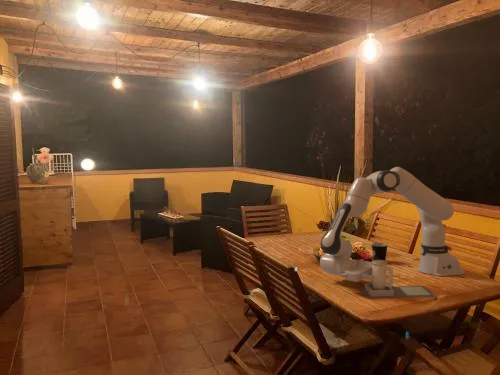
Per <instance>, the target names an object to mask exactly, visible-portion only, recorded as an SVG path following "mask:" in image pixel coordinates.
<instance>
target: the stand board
mask: <svg viewBox="0 0 500 375" xmlns="http://www.w3.org/2000/svg"><path fill="white" fill-rule="evenodd" d="M359 289H360V290H361V291H362V293H363V294H364V295H365V297H366V298H367V299H404V298H405V299H410V298H419V299H420V298H433V299H432V300H433V301H435V300H438V296H436V294H434V292H432V291H431V290H429V289H428V288H427V287H426V286H425V285H415V286H413V285H411V286H410V285H407V286H401V285H400V286H393V287H387V286H386V290H372V282H371V283H369V282H367V283H364V286H359Z"/></svg>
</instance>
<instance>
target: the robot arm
mask: <svg viewBox="0 0 500 375" xmlns="http://www.w3.org/2000/svg"><path fill="white" fill-rule="evenodd" d="M393 190H395V191H396V192H397V193H399V195H401V196H402V197H403V198H405V199H406V200H408V202H410V204H412V205H414V206H416V209H417V211H418V215H419V219H420V224H421V243H420V260H419V264H418V267H417V270H418V271H419V272H420V273H423V274H427V275H434V276H437V277H447V276H456V275H458V276H459V275H465V274H466V270H464V269H463V268H462V267H461V263H460V260H459V259H458V258H457V257H456V256H454V255H453V254H452V253H450V252H452V250H453V248H452V247H451V246H450V245H446V229H445V227H444V225H443V221H448V220H450V219H451V218H452V217H453V215H454V213H455V207H454V206H453V204H452V203H451V202H450V201H448V200H447V199H445V198H444V197H442V196H441V195H440V194H438V193H437V192H436V191H433V190H432V189H431V188H429V187H428V186H427V185H425V183H423V182H421V181H420V180H419V179H418V178H417V177H415V176H414V175H413V174H412V173H410V172H409V171H407V170H406V169H404V168H402V167H400V166H395V167H393V168H391V169H390V170H389V169H387V170H386V169H385V170H379V171H375V172H373V173H369V174H367V175H366V176H365V177H357V178H355V179H354V181H353V182H352V184H351V186H350V188H349V189H348V192H347V194H346V197H345V200H344V202H343V203H342V204H341V205H340V206H339V207H338V209H337V210H336V213H335V215H334V217H333V218H332V219H333V220H332V221H331V224H330V225H329V227H328V229H327V230H326V232H325V233H324V234H323V236H322V237H321V239H320V247H321V249H322V250H323V252H325V253H326V254H325V255H323V256H322V257H320V259H319V266H320V268H321V270H322V271H323V272H325V273H327V274H329V275H334V276H341V277H342V278H344V279H346V280H347V281H351V282H354V283H355V282H356V283H358V282H361V280H370V281H371V280H372V279H373V275H372V261H367V260H364V259H362V258H357V259H351V256H352V253H353V245H352V243H351V242H350V241H348V240H347V239H345V238H343V237H342V233H343V231H344V228H345V226H346V223H347V222H348V220H349V219H350V218H354V217H355V218H356V217H357V218H358V217H360V216H362V215H364V214H365V212H366V211H367V208H368V206H369V202H370V200H371V197H372V195H374V194H376V195H377V194H384V193H387V192H388V193H389V192H392V191H393ZM449 251H450V252H449Z"/></svg>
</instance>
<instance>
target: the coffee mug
mask: <svg viewBox="0 0 500 375" xmlns="http://www.w3.org/2000/svg"><path fill="white" fill-rule="evenodd" d="M371 249H372V250H371V251H372V259H373V260H384V261H386V260H387V251H388V244H387V243H384V242H372V243H371ZM373 260H372V261H373Z"/></svg>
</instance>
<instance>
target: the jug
mask: <svg viewBox="0 0 500 375" xmlns="http://www.w3.org/2000/svg"><path fill="white" fill-rule="evenodd" d="M371 262H372V275H373V279H372V281H371V283H372V290H386V286H387V287H394V286H393V285H394V282H393V281H394V278H393V277H394V268H392V267H388V266H387V265H388V261H386V260H385V261H384V260H371ZM387 272H388V278H387ZM387 280H388V281H387Z"/></svg>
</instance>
